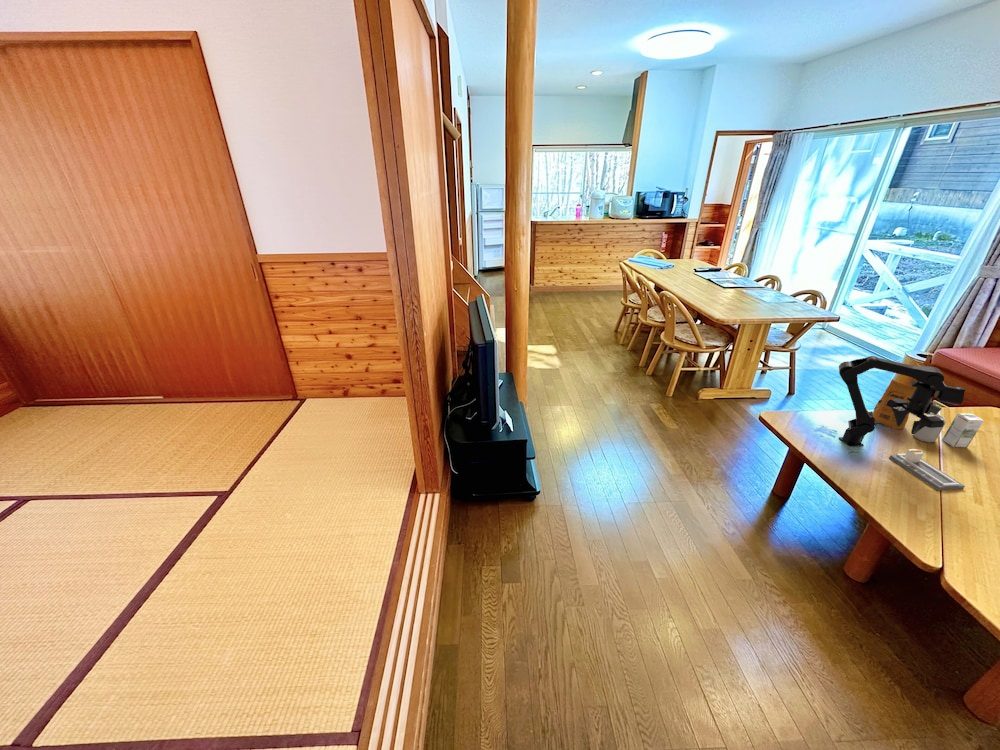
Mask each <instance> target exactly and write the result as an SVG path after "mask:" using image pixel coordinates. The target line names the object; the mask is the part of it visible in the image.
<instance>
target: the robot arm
mask: <svg viewBox="0 0 1000 750" xmlns="http://www.w3.org/2000/svg"><path fill="white" fill-rule="evenodd" d="M872 369H877V370H881V371H885V372H889V373H892V374H893V373H894V374H898V375H900V376H905V377H909V378H912V379H914V380H913V381H912V380H911V381H910V382H909V383H910V384H909V385H911V386H912V387H916V388H915V390H914V392H913V394H912V396H911V397H908V398H907V400H909V402H906V401H904V400H902V399H890V400H888V401H887V403H886V405H887V406H889V407H891V408H892V409H891V410H893V413H894V415H895V419H896V423H897V426H901V424H902V422H903V420H904V418H905V416H906V415H907V414H908V413H909V414H911V415H913V416H915V417H917V418H919V420H914V421H913V424H912V426H911V427H912V428H911V431H910V433H911V435H913V434H915V433H917V432H918V431H919V430H921V429H922V428H923V427H925V426H926V427H929V428H937V427H943V425H944V423H945V422H946V421H945V422H944V421H943V420H941V419H939V418H937V417H935V416H926V415H925V414H930V413H934V414H935V415H936V414H937V415H938V414H939V412H940V411H941V410H942V407H940V406H938V405H935V404H934V402H933V401H932V400H933V398H935V399H936V400H937V402H941V403H945V404H946V403H947V404H952V405H956V406H957V405H958V406H960V405H962V403H963V401H964V398H965V392H966V389H965V388H964V387H960V386H951V385H947V384H946V383H945V382H944V381H945V375H944V374H943V372H942V371H941V370H940V369H939V368H938V367H935V366H926V365H911V364H906V363H903V362H900V361H899V362H898V361H894V360H889V359H885V358H881V357H877V356H875V355H870V356H867V357H864V358H857V359H854V360H853V359H852V360H850V361H843V362H841V363H840V364H839V365H838V373H839V376H840V378H841V380H842V381H843V382H844V384H845V385H846V386H847V389H848V393H849V396H850V399H851V402H852V405H853V408H854V412H855V418H853V419H850V420H848V421H847V423H848V427H847V428H846V429H845V431H844V434H843V435H842V437H838V439H839V440H840V441H841V442H842V443H844V444H846V445H847V446H849V447H863V446H864V445H865V444H864V443H863V440H864V438H865V436H866V435H867V434H868V433H872V432H874V431H875V427H877V423H876V421H875V418H874V416H873V411H868V410H867V408H866V406H865V402H864V398H863V396H862V392H861V389H860V385H859V383H858V381H859V379H858V375H862V374H864V373H866V372H868V371H869V370H872ZM945 424H946V423H945ZM944 426H945V425H944ZM943 428H944V427H943Z"/></svg>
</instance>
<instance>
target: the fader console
mask: <svg viewBox="0 0 1000 750" xmlns="http://www.w3.org/2000/svg"><path fill="white" fill-rule="evenodd" d="M906 453H907V452H906ZM906 453H905V452H904V453H896V454H890V456H889V457H888V458H889V459H890V460H891V461H893V462H895V463H896V464H897V465H898V466H899V465H900V466H901V467H902V468H903V469H905V470H906V471H908V472H909V473H910V474H913V475H914V476H915V477H917V478H918V479H920V480H921V481H923V482H925V483H926V484H927V485H929V486H930V487H932V488H933V489H934V490H936V491H949V490H950V491H953V490H964V488H965V487H966V485H965V484H962V482H959V481H958V480H956V479H955V478H953V477H951V476H950V475H948V474H946V473H945V472H943V471H942V470H940V469H939V468H937V467H935V466H934V465H932V464H930V463H929V462H927V461H926V460H924V459H923V458H921V460H920V462H914V463H912V462H911V461H909V460H907V459H906V458H904V457H905V455H906Z"/></svg>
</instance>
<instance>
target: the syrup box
mask: <svg viewBox="0 0 1000 750" xmlns="http://www.w3.org/2000/svg"><path fill="white" fill-rule="evenodd" d="M984 422H985V420H983V419H982V418H981V417H979V416H977V415H975V414H973V413H960V412H959V413H956V414H955V416H954V418H953V420H952V422H950V425H949V427H948V428H947V430H946V432H945V433H944V436H943V437H942V441H943V442H944V443H946V444H948V445H949V446H951V447H952V448H968V447H969V445H970V444H971V442H973V440H974V438H975V437H976V434H977V433H978V431H979V429H980V428H981V426H982V425H983V423H984Z"/></svg>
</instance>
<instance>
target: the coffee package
mask: <svg viewBox="0 0 1000 750" xmlns="http://www.w3.org/2000/svg"><path fill="white" fill-rule="evenodd" d="M915 388H916V387H912V386H911V384H906V383H904V382H901V381H898V380H896V379H893V378H892V379H891V381H890V383H889V384H888V386H887V388H886V389H885V390H884V392H883V394H882V396H881V397H880V399H879V400H878V401H877V403H876V404H875V407H874V409H873V411H872V412H873V416H874V418H875V421H876V422H877V423H876V424H881V425H884V426H885V425H886V427H888V426H889V428H892V427H894V429H898V430H902V429H904V427H905V426H906V425H907V422H908V419H909V415H910V413H908V414H907V415H906V416H905V418H904V420H903V422H902V424H901V426H897V423H896V419H895V415H894V413H893V410H891V409H892V408H891V407H889V406H887V405H886V403H887V401H888V400H890V399H902V400H904V401H906V402H909V400H907V398H908V397H911V396H912V394H913V392H914V390H915Z"/></svg>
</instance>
